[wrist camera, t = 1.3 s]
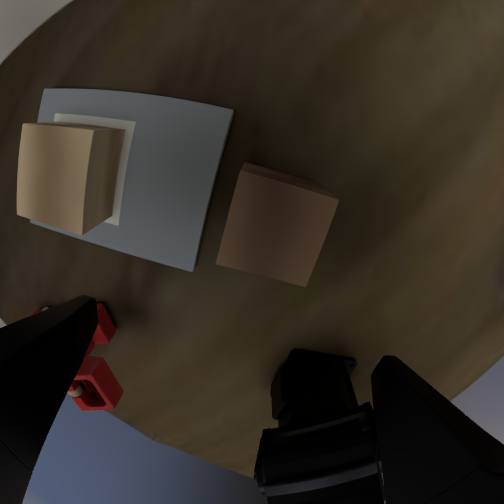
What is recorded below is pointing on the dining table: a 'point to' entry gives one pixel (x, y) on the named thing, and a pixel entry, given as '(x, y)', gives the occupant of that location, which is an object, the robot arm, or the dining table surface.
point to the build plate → (151, 168)
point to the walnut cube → (276, 225)
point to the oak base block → (68, 174)
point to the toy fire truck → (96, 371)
